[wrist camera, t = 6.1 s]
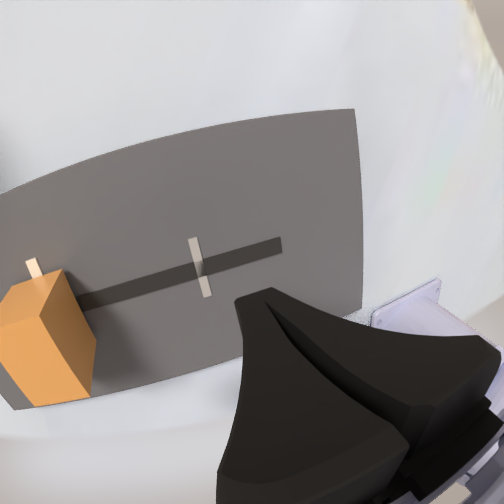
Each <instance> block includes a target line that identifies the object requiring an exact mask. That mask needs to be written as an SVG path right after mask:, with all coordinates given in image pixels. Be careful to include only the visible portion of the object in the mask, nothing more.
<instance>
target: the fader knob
mask: <svg viewBox="0 0 504 504" xmlns="http://www.w3.org/2000/svg"><path fill="white" fill-rule="evenodd" d="M96 341H97V340H96V338H95V337H94V335H93V333H92V331H91V329H90V327H89V325H88V323H87V321H86V319H85V317H84V315H83V313H82V311H81V309H80V307H79V305H78V303H77V301H76V299H75V297H74V294H73V292H72V290H71V288H70V285H69V283H68V281H67V279H66V276H65V274H64V272H63V269H60V270H57V271H54V272H51V273H48V274H45V275H42V276H39V277H36V278H33V279H30V280H27V281H25V282H22V283H19V284H16V285H13V286H12V287H11V288H10V290H9V291H8V293H7V294H6V295H5V297H4V298H3V300H2V301H1V303H0V362H1V363H2V365H3V366H4V368H5V369H6V371H7V372H8V373H9V375H10V376H11V377H12V379H13V380H14V381H15V383H16V384H17V385H18V387H19V388H20V389H21V391H22V392H23V393H24V394H25V396H26V397H27V398H28V399H29V400H30V402H31V403H32V404H33V405H34V406H35V407H36V406H43V405H49V404H55V403H61V402H67V401H72V400H77V399H83V398H88V397H90V396H91V384H92V374H93V365H94V357H95V349H96Z"/></svg>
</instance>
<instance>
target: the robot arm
mask: <svg viewBox="0 0 504 504" xmlns="http://www.w3.org/2000/svg"><path fill="white" fill-rule="evenodd" d="M440 289H441V280H439V279H435V280H434V281H432V282H430V283H428V284H426V285H424V286H423V287H421V288H419V289H417V290H415V291H413V292H411V293H409V294H408V295H406V296H404V297H402V298H400V299H398V300H396V301H394V302H392V303H390V304H388V305H386V306H384V307H382V308H380V309H378V310H376V311H375V312H374V313H373V315H372V321H371V327H370V326H366V325H362V324H359V323H355V322H352V321H349V320H346V319H343V318H340V317H337V316H334V315H332V314H329V313H327V312H324V311H322V310H319V309H317V308H315V307H312V306H310V305H308V304H306V303H304V302H301V301H299V300H297V299H295V298H293V297H291V296H289V295H287V294H285V293H283V292H281V291H279V290H277V289H275V288H273V287H269V288H266V289H263V290H260V291H257V292H254V293H251V294H248V295H245V296H242V297H239V298H236V300H235V301H234V305H235V309H236V313H237V317H238V321H239V325H240V329H241V333H242V337H243V365H242V377H241V385H240V392H239V399H238V404H237V409H236V413H235V417H234V422H233V425H232V429H231V433H230V437H229V440H228V443H227V446H226V449H225V451H224V454H223V457H222V460H221V463H220V465H219V468H218V471H217V486H216V504H429V503H430V502H431V501H433V500H434V499H436V498H437V497H438V496H439V495H441V494H442V493H443V492H444V491H446V490H447V489H448V488H449V487H450V486H452V485H453V484H454V483H455V482H457V483H459V484H460V485H462V486H465V487H467V489H468V490H469V491H470V492H471V494H470V495H469V496H468V497H466V499H464V500H463V501H462V502H461V503H460V504H504V349H503V348H502V347H500V346H499V345H495V344H494V343H493V342H491V341H490V340H488V339H487V338H486V337H484V336H483V335H482V334H480V333H479V332H477V331H476V330H475V329H473V328H472V327H470V326H469V325H467V324H466V323H465V322H463V321H462V320H461V319H459V318H458V317H456V316H455V315H453V314H452V313H450V312H449V311H448V310H446V309H445V308H443V307H442V306H440V305H439V304H438V299H439V294H440Z"/></svg>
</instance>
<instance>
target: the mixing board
mask: <svg viewBox="0 0 504 504" xmlns="http://www.w3.org/2000/svg"><path fill="white" fill-rule="evenodd" d="M60 269H63V272H64V274H65V276H66V279H67V281H68V283H69V285H70V288H71V290H72V292H73V294H74V297H75V299H76V301H77V303H78V305H79V307H80V309H81V311H82V313H83V315H84V317H85V319H86V321H87V323H88V325H89V327H90V329H91V331H92V333H93V335H94V337H95V338H96V340H97V341H96V349H95V357H94V365H93V374H92V384H91V396H90V397H88V398H92V397H97V396H102V395H106V394H111V393H115V392H120V391H124V390H128V389H132V388H136V387H140V386H144V385H148V384H152V383H156V382H159V381H163V380H167V379H170V378H174V377H177V376H181V375H184V374H188V373H191V372H194V371H198V370H201V369H204V368H207V367H211V366H214V365H217V364H220V363H223V362H226V361H229V360H232V359H235V358H238V357H241V356H243V337H242V333H241V329H240V325H239V321H238V317H237V313H236V309H235V305H234V301H235V300H236V298H239V297H242V296H245V295H248V294H251V293H254V292H257V291H260V290H263V289H266V288H269V287H273V288H275V289H277V290H279V291H281V292H283V293H285V294H287V295H289V296H291V297H293V298H295V299H297V300H299V301H301V302H304V303H306V304H308V305H310V306H312V307H315V308H317V309H319V310H322V311H324V312H327V313H329V314H332V315H334V316H337V317H340V318H342V317H344V316H346V315H348V314H351V313H353V312H355V311H357V310H360V309H362V292H363V210H362V188H361V171H360V158H359V147H358V136H357V127H356V118H355V110H354V109H337V110H324V111H312V112H302V113H293V114H284V115H276V116H269V117H262V118H255V119H249V120H243V121H237V122H231V123H226V124H220V125H215V126H210V127H205V128H200V129H196V130H191V131H186V132H182V133H178V134H174V135H169V136H165V137H161V138H158V139H154V140H150V141H146V142H143V143H139V144H135V145H132V146H128V147H125V148H122V149H118V150H115V151H112V152H109V153H106V154H103V155H99V156H96V157H93V158H90V159H88V160H85V161H82V162H79V163H76V164H73V165H71V166H68V167H65V168H63V169H60V170H57V171H55V172H52V173H50V174H47V175H45V176H42V177H40V178H37V179H35V180H33V181H30V182H28V183H26V184H23V185H21V186H19V187H17V188H14V189H12V190H10V191H8V192H6V193H4V194H2V195H0V303H1V301H2V300H3V298H4V297H5V295H6V294H7V293H8V291H9V290H10V288H11V287H12V286H13V285H16V284H19V283H22V282H25V281H27V280H30V279H33V278H36V277H39V276H42V275H45V274H48V273H51V272H54V271H57V270H60ZM0 394H1V395H2V396H3V398H4V399H5V400H6V401H7V403H8V404H9V405H10V406H11V407H12V408H13V410H21V409H29V408H36V407H42V406H36V407H35V406H34V405H33V404H32V403H31V402H30V400H29V399H28V398H27V397H26V396H25V394H24V393H23V392H22V391H21V389H20V388H19V387H18V385H17V384H16V383H15V381H14V380H13V379H12V377H11V376H10V375H9V373H8V372H7V371H6V369H5V368H4V366H3V365H2V363H1V362H0ZM83 399H87V398H83ZM77 400H82V399H77ZM77 400H72V401H77ZM72 401H67V402H72ZM61 403H66V402H61ZM61 403H55V404H61ZM55 404H49V405H55ZM49 405H43V406H49Z"/></svg>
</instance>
